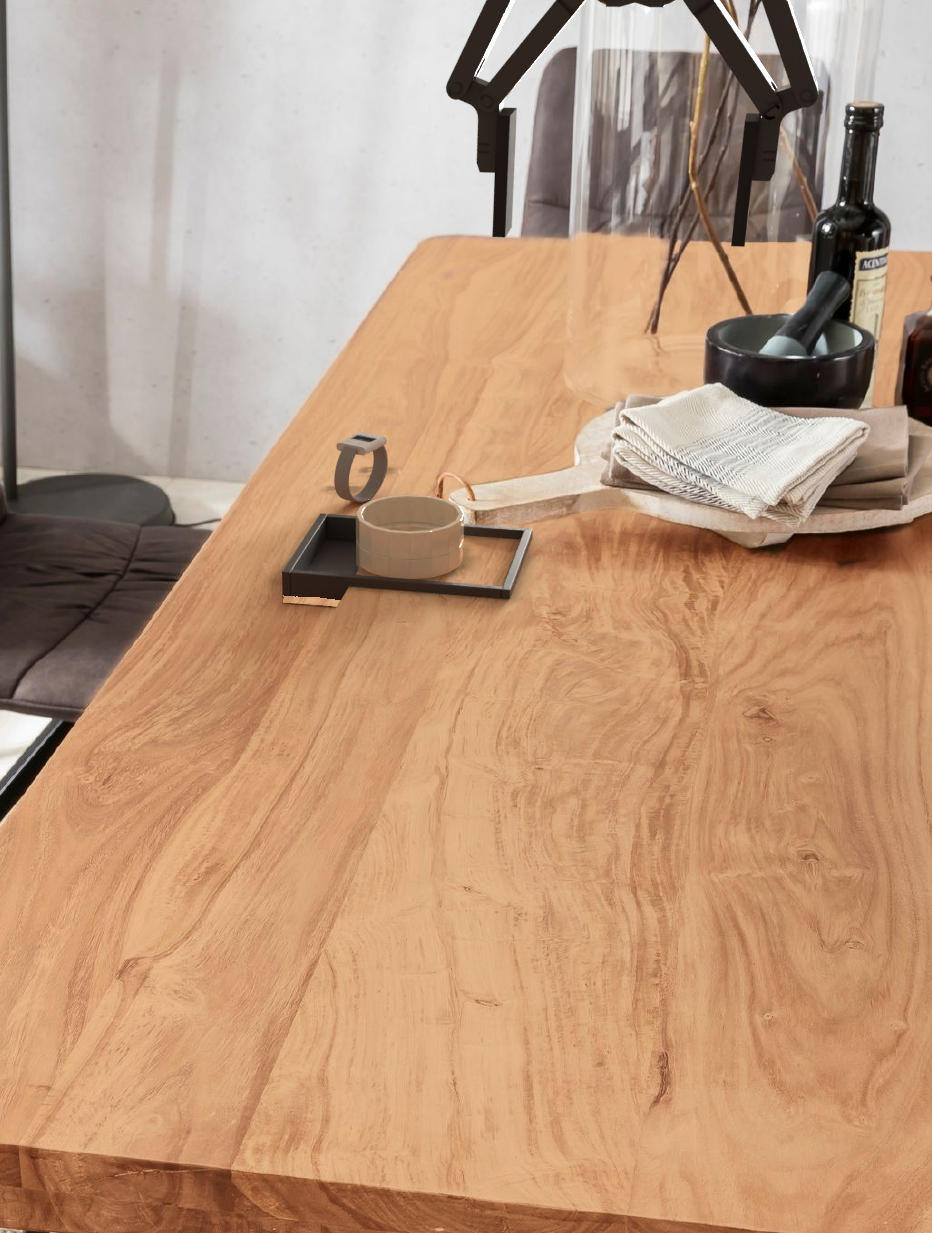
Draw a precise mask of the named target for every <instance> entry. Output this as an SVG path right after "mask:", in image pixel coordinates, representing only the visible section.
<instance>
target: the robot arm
mask: <svg viewBox="0 0 932 1233" xmlns="http://www.w3.org/2000/svg"><path fill="white" fill-rule="evenodd" d="M515 1H516V0H485V2H484V5H483V6H482V8H481V11H480V12H479V15H478V17H477V19H476V20H475V23H474V25H473V27H472V29H471V31H470V34H469V36H468V38H467V40H466V42H465V44H464V46H463V48H462V50H461V52H460V55H459V56H458V58H457V61H456V63H455V65H454V67H453V70H452V72H451V73H450V76H449V78H448V80H447V82H446V86H445V92H446V94H447V96H448V97H449V98H450V99H451V100H454V101H457V100H458V101H461V102H463V103H465V104H468V105H469V106H471V107H472V108H474V110H475V112H476V115H477V139H476V165H477V169H478V172H479V173H483V174H484V173H487V174H488V173H489V174H494V176H493V177H494V179H493V205H492V206H493V207H492V208H493V209H492V232H491V233H492V234H491V237H492V238H506V237H507V235H508V234H509V233H510V231H511V229H512V228H513V211H514V210H513V208H514V186H515V185H514V183H515V165H516V164H515V161H516V140H517V139H516V137H517V136H516V135H517V115H518V114H517V112H518V107H504V101H505V100H506V98H507V97H508V96H509V95H510V94H511V92H512V91H513V90H514V89H515V87H516V86H517V85H518V84H519V83H520V81H521V80H522V79H524V76H525V75H526V74H527V73H528V72H529V70H530V69H531V68H532V67H533V65H534V64H535V63H536V62H537V61H538V59H539V58H540V57H541V56H542V55H543V54H544V52H545V51H546V50H547V49H548V47H549V46H550V45H551V44H552V43H553V41H554V40H555V39H556V38H557V36H559V34H560V33H561V32H562V31H563V29H564V28H565V27H566V26H567V25H568V23H569V22H570V21H571V20H572V18H573V17H574V16H575V14H576V13H578V11H579V10H580V9H581V7H582V6H583V5H584V4H585V3H586V1H587V0H555V1H554V2H553V3H552V4H551V6H549V8H548V10H546V12H545V13H544V14H543V16H542V17H541V18H540V19H539V20H538V22H537V23H536V24H535V25H534V27H533V28H532V29H531V30H530V32H529V33H528V34H527V35H526V37H524V39H523V40H522V41H521V43H520V44H519V45H518V46H517V47H516V49H515V50H514V51H513V52H512V54H511V55H510V56H509V57H508V58H507V60H506V61H505V62H504V63H503V64H502V66H501V67H500V68H499V70H498V71H496V73H495V75H494V76H492V78H491V79H490V81H488V80H486V79H483V78H480V77H479V75H480V73H481V71H482V69H483V67H484V65H485V63H486V61H487V58H488V57H489V54H490V52H491V50H492V49H493V46H494V45H495V42H496V40H497V37H498V36H499V34H500V32H501V30H502V28H503V26H504V24H505V21H506V19H507V18H508V15H509V14H510V12H511V9H512V7H513V6H514V4H515ZM597 1H598V2H599V3H601V4H603V5H605V7H606V8H621V7H625V6H628V5H632V4H638V5H641V6H644V7H648V8H665V6H668V5H670V4H672V3H674V2H676V1H677V0H597ZM682 1H683V3H684V5H686V7H687V9H688V10H689V11H690V13H691V14H692V16H693V17H694V18H695V20H697V22H698V23H699V25H700V26H701V28H702V29H703V31H704V32H705V34H706V35H707V36H708V39H710V41H711V43H712V44H713V45H714V47H715V48H716V50H717V52H718V54H720V56H721V58H722V59H723V61H724V62H725V63H726V65H727V67H728V68H729V70H730V72H731V73H732V74H733V75H734V77H735V78H736V80H737V81H738V83H739V84H740V86H741V87H742V89H743V90H744V92H745V94H746V95H747V96H748V99H750V101H751V102H752V104H753V105H754V107H755V109H756V110H757V111H758V112H757V113H755V112H753V113H752V112H751V113H750V112H746V114H745V118H744V124H743V125H744V126H743V134H742V142H741V143H742V144H741V153H740V161H739V170H738V172H739V173H738V178H737V179H738V180H737V187H736V188H737V190H736V196H735V197H736V198H735V206H734V215H733V226H732V232H731V234H732V235H731V242H730V247H738V248H739V247H740V248H745V246H746V240H747V232H748V223H749V215H750V214H749V213H750V207H751V198H752V188H753V182H771V180H772V178H773V176H774V174H775V172H776V166H777V165H776V164H777V157H778V147H779V141H780V140H779V139H780V130H781V124H782V122H783V119H784V118H785V117H786V116H787V115H789V114H790V113H792V112H795V111H798V110H801V109H804V108H805V109H806V108H807V109H808V108H811V107H812V106H813V105H815V104H816V102H817V100H818V97H819V84H818V80H817V77H816V75H815V71H814V69H813V65H812V62H811V59H810V56H809V54H808V50H807V47H806V45H805V41H804V38H803V35H802V32H801V30H800V26H799V24H798V21H797V17H796V14H795V12H794V9H793V6H792V2H791V0H761V4H762V6H763V10H764V12H765V15H766V18H767V21H768V23H769V26H770V29H771V32H772V36H773V38H774V41H775V44H776V48H777V51H778V54H779V56H780V59H781V62H782V65H783V68H784V71H785V73H786V76H787V79H788V82H789V83H788V84H785V85H782V86H779V87H778V86H777V85H776V83H775V81H774V80H773V78H772V77H771V75H770V74H769V73H768V71H767V69H766V68H765V66H764V65H763V64H762V62H761V60H760V59H759V57H758V55H757V54H756V53H755V51H754V50H753V48H752V47H751V46H750V43H749V42H748V41H747V40H746V38H745V36H744V35H743V33H742V32H741V31H740V29H739V27H738V26H737V24H736V23H735V21H734V19H733V18H732V16H731V15H730V14H729V12H728V11H727V9H726V8H725V6H724V5H723V3H722V1H721V0H682Z"/></svg>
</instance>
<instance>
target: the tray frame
mask: <svg viewBox="0 0 932 1233" xmlns="http://www.w3.org/2000/svg"><path fill="white" fill-rule="evenodd" d="M317 516H318V517H317V518H316V519H315V520H314V522H313V524H312V526H311V527H310V529H309V530H308V531H307V533H306V535H305V536H304V537H303V539H302V541H301V542H300V543H299V545H298V546H297V548H296V550H295V551H294V553H293V554H292V556H291V557H290V559H289V560H288V561H287V563H286V565H285V566H284V567H283V569H282V571H281V589H282V590H281V592H282V594H281V595H282V596H283V595H284V596H295V597H296V596H298V597H320V598H327V599H335V600H341V601H343V600H342V599H343V598H344V597H345V595H346V593H347V591H348V589H349V588H363V589H374V590H375V589H376V590H387V591H397V592H398V591H402V592H412V593H413V592H414V593H423V594H424V593H425V594H437V595H448V596H449V595H450V596H463V597H474V598H487V599H498V600H499V599H500V600H511V597H512V594H513V592H514V589H515V586H516V584H517V581H518V578H519V575H520V573H521V570H522V567H523V566H524V562H525V560H526V556H527V553H528V551H529V548H530V545H531V543H532V540H533V533H534V529H533V528H528V527H516V526H515V527H513V526H502V525H501V526H500V525H488V524H487V525H485V524H474V523H464V536H465V537H467V536H468V537H469V536H470V537H482V538H495V539H509V540H511V539H512V540H519V543H518V546H517V549H516V551H515V554H514V557H513V559H512V561H511V564H510V567H509V570H508V573H507V575H506V577H505V580H504V583H503V585H491V584H490V585H489V584H479V583H478V584H476V583H466V582H465V583H464V582H453V581H452V582H451V581H440V580H429V579H427V580H426V579H404V578H391V577H384V576H380V575H367V574H365V575H364V574H357V573H358V572H359V570H360V568H359V569H358V567H357V565H356V515H350V514H336V513H324V512H323V513H319V515H317Z"/></svg>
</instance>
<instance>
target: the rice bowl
mask: <svg viewBox="0 0 932 1233" xmlns="http://www.w3.org/2000/svg"><path fill="white" fill-rule="evenodd" d="M355 516H356V565H357V567H358V569H359V570H360V569H361V568H362V569H364V570H365V571H367V572H369V573H371V574H373V575H376V576H380V577H391V578H404V579H416V580H421V579H430V578H435V577H439V576H442V575H446V574H449V573H451V572H453V571H454V570H456V569H457V568H459V567H460V566H461V564H462V562H463V559H464V537H465V535H464V524H465V512H464V510H463V509H462V508H461V506H460V505H458V504H456V503H454V502H453V501H451V500H448V499H445V498H440V497H436V496H433V495H425V494H424V495H423V494H421V495H420V494H397V495H388V496H387V495H386V496H383V497H379V498H375V499H370V500H368V501H367V502H365V503H363V504H362V505H360V506H359V507H358V509H357V511H356V513H355Z"/></svg>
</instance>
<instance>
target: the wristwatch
mask: <svg viewBox="0 0 932 1233" xmlns="http://www.w3.org/2000/svg"><path fill="white" fill-rule="evenodd" d="M387 443H388V440H387V437H386V436H384V435H378V434H373V433H368V432H365V431H358V432H357V433H355V434H353V435H350V436H349V437H347V438H344V439H343V440H341V441H338V442H337V443H336V447H335V448H336V450H337V451H339V452H340V453H339V456H338V458H337V462H336V466H335V469H334V476H333V478H334V479H333V482H334V483H333V484H334V489H335V492H336V494H337V496H338V497H339V498H340V499H342V500H344V501H347V502H348V501H349V502H353V503H358V504H359V503H360V504H361V503H366V502H368V501H369V500H368V499H370V498H371V499H373V498H374V497H375V496H376V494H378V492H379V490H381V487H382V485H383V484H384V480H385V478H386V475H387V471H388V465H389V457H388V451H387V448H386V445H387ZM370 453H372V456H373V457H372V458H373V462H372V468H371V472H370V475H369V478H368V480H367V481H366V484H365V485H364V487H363V488H362V489H361V490H360V492H358V493H357V494H356V495H353V494H352V492H351V489H350V474H351V471H352V466H353V463H354V460H355V457H356V455H357V456H362V457H364V456H366V455H368V454H370ZM373 496H374V497H373ZM371 499H370V500H371ZM367 500H368V501H367ZM365 501H366V502H365Z"/></svg>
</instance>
